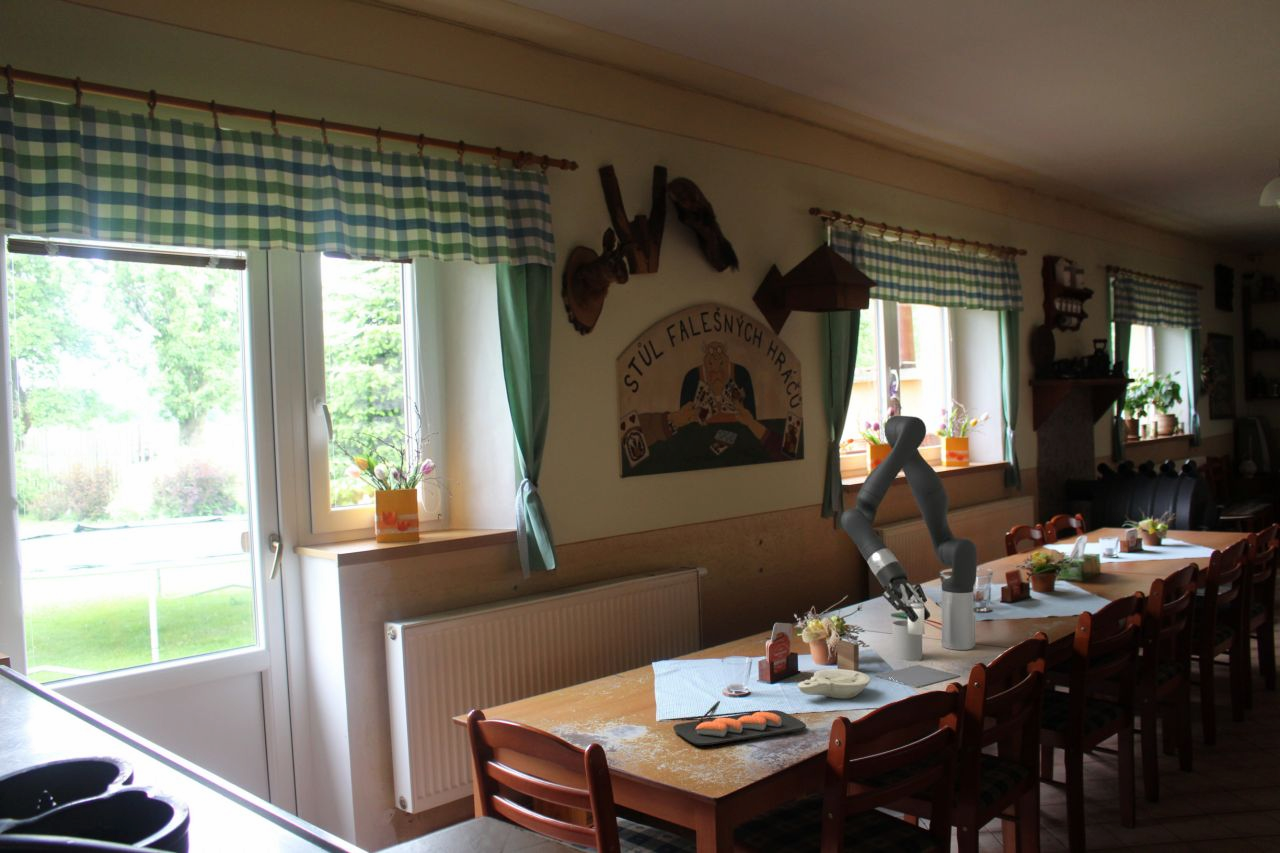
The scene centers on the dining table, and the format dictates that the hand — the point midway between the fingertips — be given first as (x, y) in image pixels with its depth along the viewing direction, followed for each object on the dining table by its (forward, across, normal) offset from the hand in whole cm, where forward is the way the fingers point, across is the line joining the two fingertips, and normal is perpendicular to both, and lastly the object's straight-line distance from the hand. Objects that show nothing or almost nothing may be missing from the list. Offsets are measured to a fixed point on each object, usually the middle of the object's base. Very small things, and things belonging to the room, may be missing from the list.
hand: (921, 618), depth 268 cm
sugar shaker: (+2, 0, +4) cm, 5 cm away
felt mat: (+10, 0, +12) cm, 16 cm away
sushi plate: (+9, -67, +14) cm, 69 cm away
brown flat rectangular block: (0, -11, +23) cm, 25 cm away
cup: (0, +14, +23) cm, 27 cm away
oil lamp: (+10, -32, +13) cm, 36 cm away
